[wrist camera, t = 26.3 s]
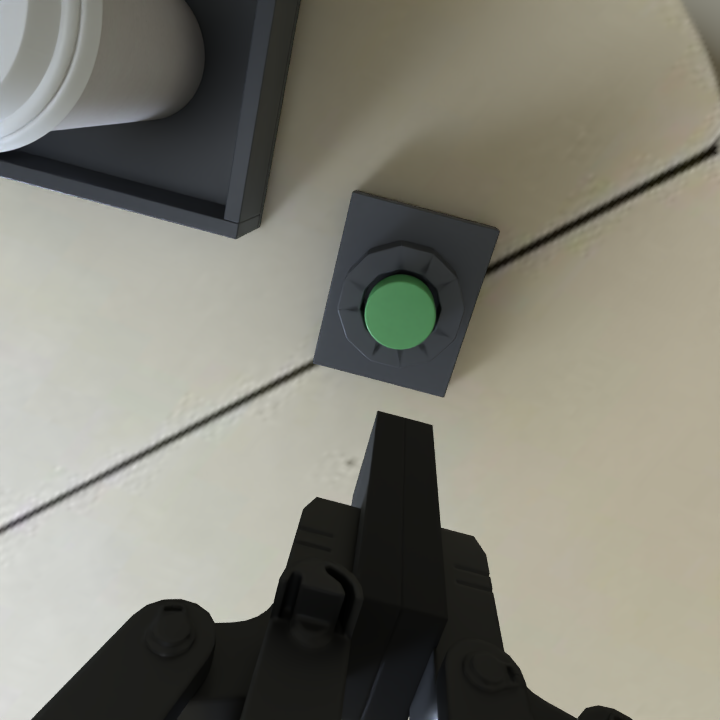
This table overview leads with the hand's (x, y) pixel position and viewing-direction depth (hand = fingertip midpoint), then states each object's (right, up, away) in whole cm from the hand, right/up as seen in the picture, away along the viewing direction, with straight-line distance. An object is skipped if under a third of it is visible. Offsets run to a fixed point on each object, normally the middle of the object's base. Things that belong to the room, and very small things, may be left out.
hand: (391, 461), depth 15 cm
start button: (+1, +6, +15) cm, 16 cm away
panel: (+2, +6, +17) cm, 18 cm away
